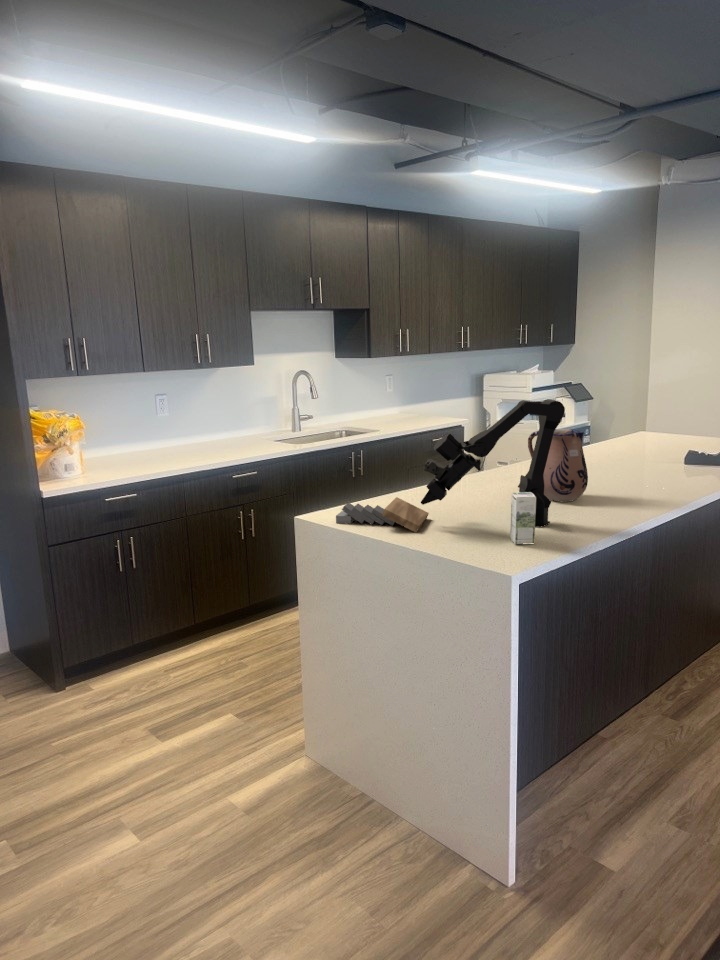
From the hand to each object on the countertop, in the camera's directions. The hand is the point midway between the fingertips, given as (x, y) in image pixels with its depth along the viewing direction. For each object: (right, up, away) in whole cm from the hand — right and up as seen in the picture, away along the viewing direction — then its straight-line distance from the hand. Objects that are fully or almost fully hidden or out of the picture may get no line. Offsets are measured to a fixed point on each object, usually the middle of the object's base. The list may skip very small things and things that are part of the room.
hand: (422, 502), depth 220 cm
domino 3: (-12, -6, +5) cm, 14 cm away
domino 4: (-8, -6, +4) cm, 11 cm away
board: (0, -6, +1) cm, 7 cm away
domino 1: (-18, -6, +7) cm, 20 cm away
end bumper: (-24, -6, +9) cm, 27 cm away
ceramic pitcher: (+51, 0, +32) cm, 60 cm away
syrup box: (+27, -11, -18) cm, 35 cm away
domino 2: (-15, -6, +6) cm, 17 cm away
